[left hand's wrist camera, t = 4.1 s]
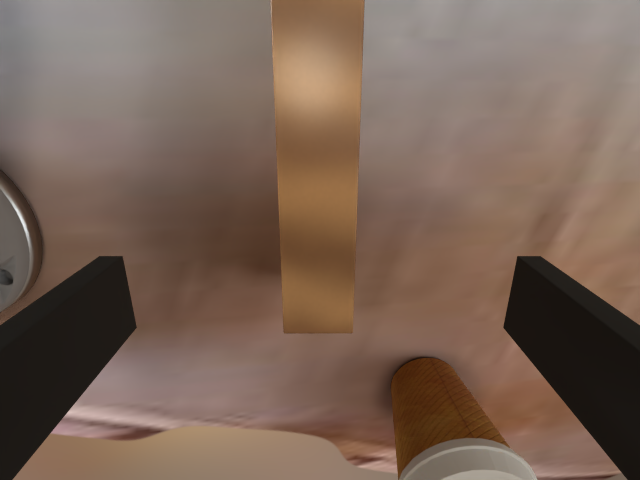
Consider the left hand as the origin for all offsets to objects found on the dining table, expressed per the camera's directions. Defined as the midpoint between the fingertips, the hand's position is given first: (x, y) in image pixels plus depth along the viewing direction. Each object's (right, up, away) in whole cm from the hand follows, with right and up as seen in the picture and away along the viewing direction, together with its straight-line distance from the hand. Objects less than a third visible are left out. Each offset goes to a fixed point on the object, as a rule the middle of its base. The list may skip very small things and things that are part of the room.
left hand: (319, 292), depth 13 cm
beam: (0, +34, +6) cm, 34 cm away
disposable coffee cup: (+10, -12, +23) cm, 27 cm away
